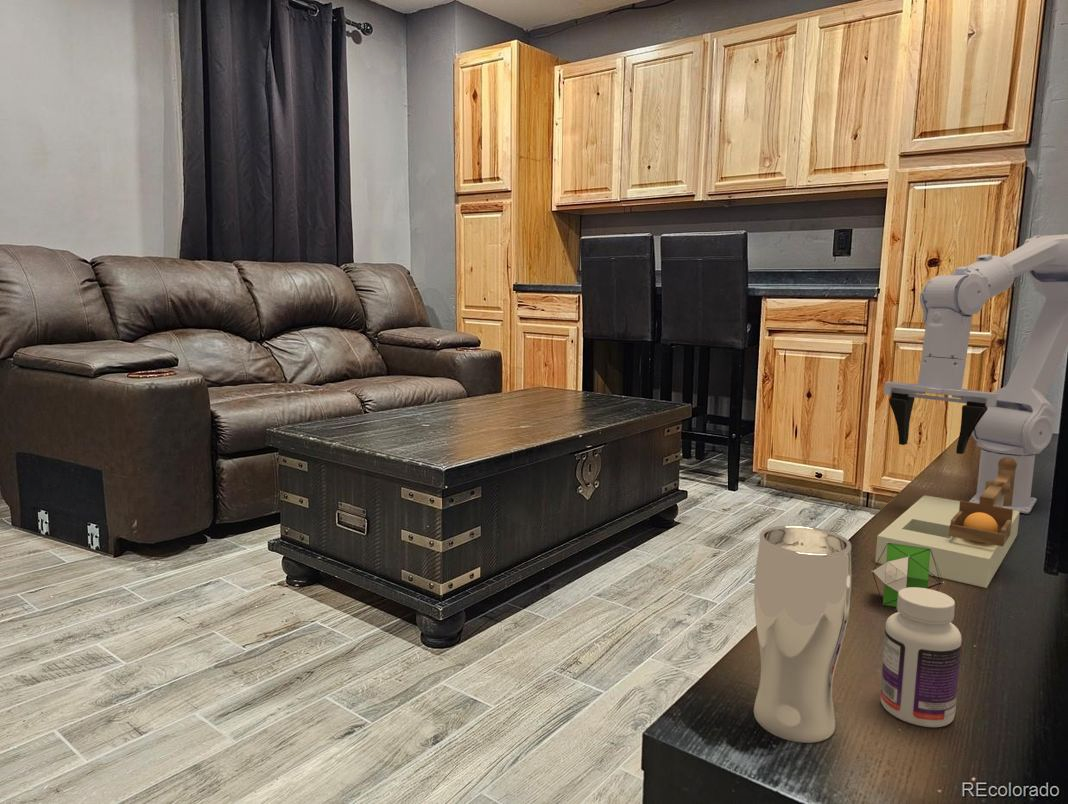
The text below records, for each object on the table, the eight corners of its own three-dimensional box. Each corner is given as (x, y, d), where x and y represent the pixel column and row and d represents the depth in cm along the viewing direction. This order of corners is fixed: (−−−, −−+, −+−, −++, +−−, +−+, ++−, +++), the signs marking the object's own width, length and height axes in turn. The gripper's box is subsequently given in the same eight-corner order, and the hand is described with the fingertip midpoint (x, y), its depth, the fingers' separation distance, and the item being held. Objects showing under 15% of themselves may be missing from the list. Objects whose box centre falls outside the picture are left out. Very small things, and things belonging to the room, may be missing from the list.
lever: (981, 498, 103) (986, 452, 102) (1028, 506, 100) (1033, 458, 99) (948, 537, 87) (953, 483, 86) (1002, 548, 83) (1008, 491, 82)
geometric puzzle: (873, 564, 84) (875, 523, 78) (940, 574, 80) (947, 532, 75) (868, 618, 79) (869, 579, 74) (938, 631, 76) (945, 591, 71)
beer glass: (850, 753, 53) (865, 558, 50) (752, 741, 54) (762, 551, 52) (831, 700, 59) (843, 527, 57) (744, 691, 61) (752, 521, 58)
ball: (965, 534, 90) (967, 506, 89) (998, 540, 88) (1001, 512, 87) (959, 541, 87) (961, 513, 87) (993, 548, 85) (996, 519, 84)
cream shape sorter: (922, 517, 108) (926, 471, 107) (1017, 535, 100) (1022, 485, 99) (875, 562, 90) (879, 507, 89) (986, 588, 82) (992, 527, 81)
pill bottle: (961, 708, 58) (972, 595, 57) (945, 738, 54) (957, 618, 53) (890, 684, 62) (899, 577, 60) (870, 711, 58) (879, 597, 57)
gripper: (883, 353, 106) (871, 442, 108) (997, 362, 97) (982, 460, 99) (895, 353, 112) (884, 438, 113) (1004, 362, 103) (990, 455, 104)
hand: (930, 448), depth 107 cm, fingers open, 7 cm apart
